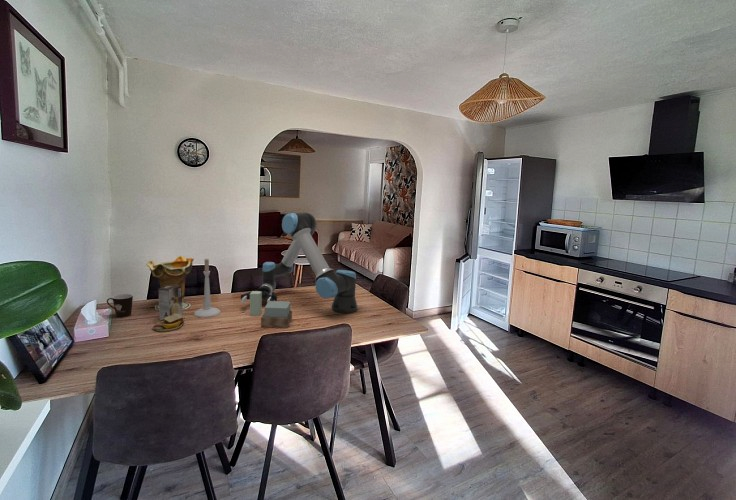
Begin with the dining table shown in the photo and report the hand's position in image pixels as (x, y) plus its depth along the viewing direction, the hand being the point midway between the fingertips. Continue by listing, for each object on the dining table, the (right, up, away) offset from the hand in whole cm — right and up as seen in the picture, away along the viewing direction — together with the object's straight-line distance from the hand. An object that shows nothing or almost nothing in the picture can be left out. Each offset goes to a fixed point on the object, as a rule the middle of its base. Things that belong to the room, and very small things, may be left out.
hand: (255, 302), depth 195 cm
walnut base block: (+15, -9, -11) cm, 20 cm away
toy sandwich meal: (-34, -9, -23) cm, 42 cm away
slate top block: (+15, -4, -11) cm, 19 cm away
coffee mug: (-64, -5, -12) cm, 66 cm away
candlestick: (-25, -6, -3) cm, 26 cm away
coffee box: (-39, -6, -12) cm, 41 cm away
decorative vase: (-47, -3, +5) cm, 47 cm away
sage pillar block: (0, -6, 0) cm, 7 cm away
